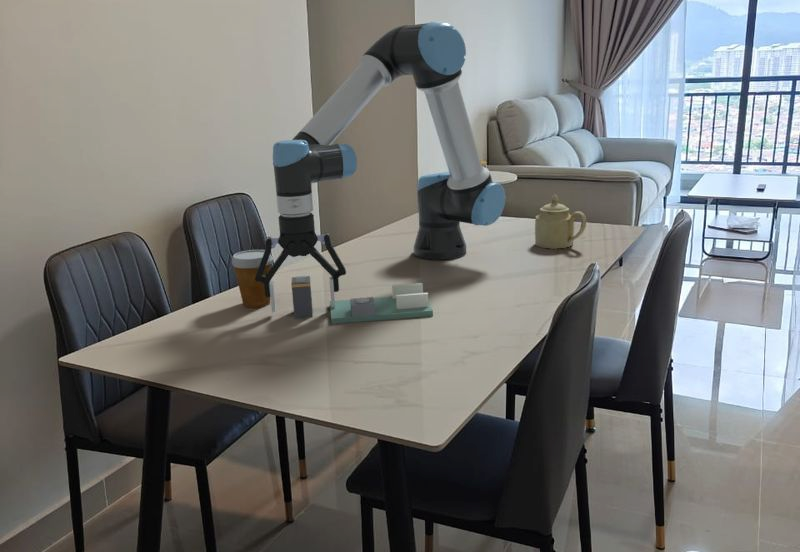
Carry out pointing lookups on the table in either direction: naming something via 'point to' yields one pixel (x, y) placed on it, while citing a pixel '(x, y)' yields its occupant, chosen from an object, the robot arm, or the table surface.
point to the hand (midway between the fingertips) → (303, 308)
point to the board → (384, 306)
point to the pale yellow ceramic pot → (556, 226)
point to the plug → (302, 297)
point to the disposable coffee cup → (251, 277)
